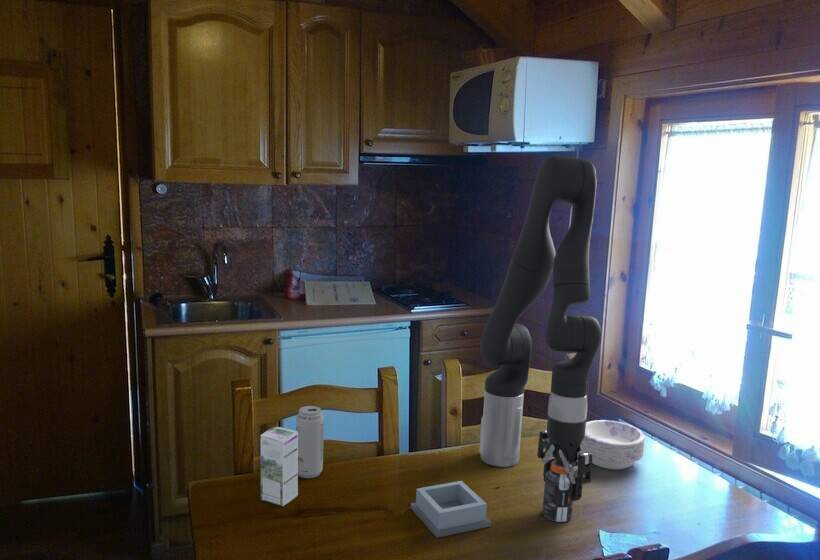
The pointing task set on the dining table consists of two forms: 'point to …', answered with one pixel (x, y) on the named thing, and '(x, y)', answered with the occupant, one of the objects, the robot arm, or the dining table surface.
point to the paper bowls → (613, 443)
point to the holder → (450, 509)
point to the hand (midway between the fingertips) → (561, 490)
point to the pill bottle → (557, 494)
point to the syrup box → (279, 465)
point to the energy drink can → (310, 441)
